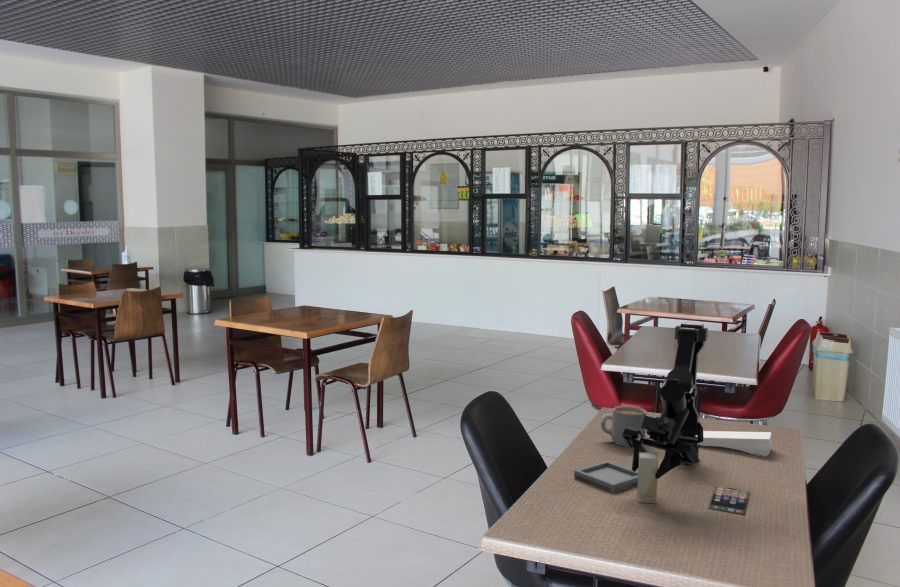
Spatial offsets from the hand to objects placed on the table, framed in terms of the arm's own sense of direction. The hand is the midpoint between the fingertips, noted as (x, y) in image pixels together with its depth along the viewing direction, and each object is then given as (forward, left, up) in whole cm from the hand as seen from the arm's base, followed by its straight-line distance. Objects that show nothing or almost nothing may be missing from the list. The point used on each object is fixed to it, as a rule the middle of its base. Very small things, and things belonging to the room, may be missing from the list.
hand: (644, 474), depth 174 cm
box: (0, +1, -7) cm, 7 cm away
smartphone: (+12, +17, -7) cm, 22 cm away
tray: (-14, +4, -7) cm, 16 cm away
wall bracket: (-14, +56, -7) cm, 58 cm away
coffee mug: (-34, +34, -7) cm, 49 cm away
